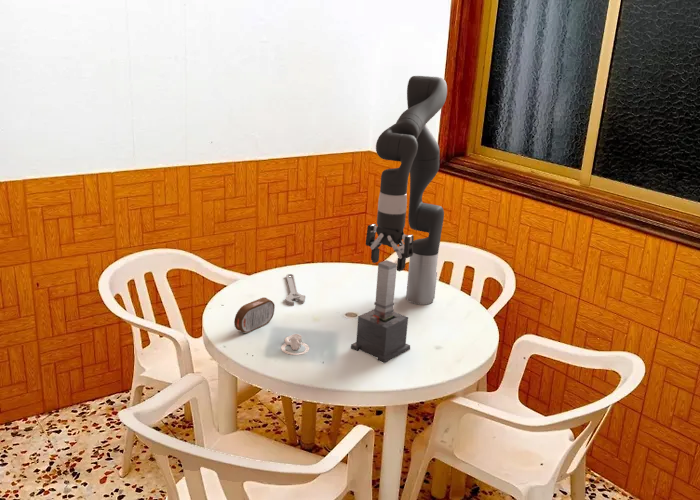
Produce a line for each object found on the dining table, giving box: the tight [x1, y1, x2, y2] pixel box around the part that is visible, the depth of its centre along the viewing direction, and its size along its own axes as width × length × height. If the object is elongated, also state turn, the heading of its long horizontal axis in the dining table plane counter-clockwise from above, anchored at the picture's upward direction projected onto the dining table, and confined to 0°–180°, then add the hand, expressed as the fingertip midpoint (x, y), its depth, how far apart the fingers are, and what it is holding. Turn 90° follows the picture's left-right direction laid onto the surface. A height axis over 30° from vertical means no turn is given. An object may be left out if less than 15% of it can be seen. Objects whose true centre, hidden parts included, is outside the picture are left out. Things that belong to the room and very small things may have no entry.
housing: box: [350, 308, 411, 364], centre depth 189 cm, size 12×12×11 cm
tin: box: [233, 297, 276, 334], centre depth 197 cm, size 15×3×8 cm, turn 144°
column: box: [374, 259, 397, 322], centre depth 185 cm, size 4×4×19 cm
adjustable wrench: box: [285, 273, 306, 307], centre depth 227 cm, size 25×6×2 cm, turn 5°
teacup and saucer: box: [280, 333, 310, 356], centre depth 188 cm, size 9×8×4 cm
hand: (387, 266), depth 182 cm, fingers open, 8 cm apart
